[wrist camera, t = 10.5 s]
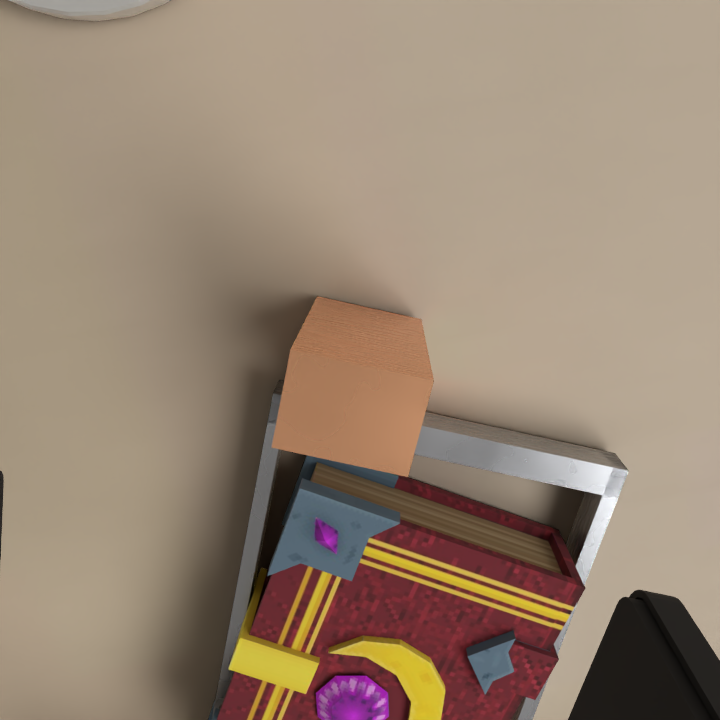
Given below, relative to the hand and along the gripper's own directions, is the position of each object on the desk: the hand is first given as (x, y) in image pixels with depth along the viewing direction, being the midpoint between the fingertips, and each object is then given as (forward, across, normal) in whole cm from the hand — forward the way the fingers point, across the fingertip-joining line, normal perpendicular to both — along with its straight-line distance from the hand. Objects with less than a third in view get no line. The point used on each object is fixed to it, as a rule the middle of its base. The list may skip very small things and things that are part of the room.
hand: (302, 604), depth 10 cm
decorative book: (+16, -4, +14) cm, 22 cm away
